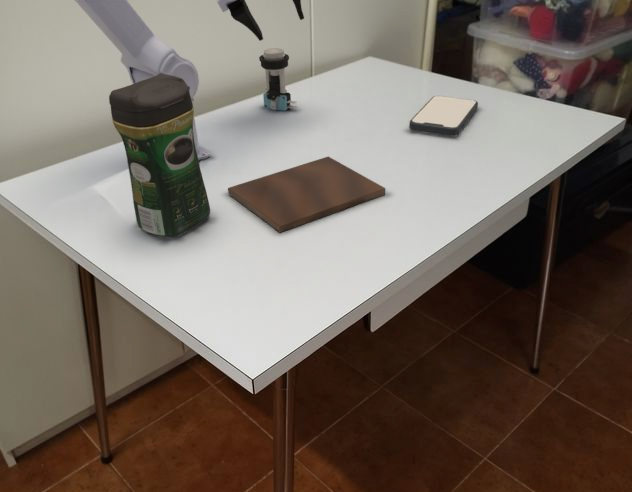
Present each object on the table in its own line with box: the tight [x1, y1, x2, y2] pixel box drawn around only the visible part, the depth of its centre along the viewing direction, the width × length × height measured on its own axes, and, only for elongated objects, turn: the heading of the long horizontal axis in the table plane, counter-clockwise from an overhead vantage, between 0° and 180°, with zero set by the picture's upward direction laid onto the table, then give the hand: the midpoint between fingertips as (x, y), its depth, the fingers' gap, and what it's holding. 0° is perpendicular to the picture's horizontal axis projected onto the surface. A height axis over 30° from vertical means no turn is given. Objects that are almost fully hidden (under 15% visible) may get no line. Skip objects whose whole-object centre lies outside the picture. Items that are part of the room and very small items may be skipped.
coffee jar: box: [108, 73, 211, 239], centre depth 79 cm, size 10×8×19 cm
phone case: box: [408, 95, 479, 137], centre depth 111 cm, size 9×2×16 cm
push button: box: [258, 47, 298, 112], centre depth 114 cm, size 7×5×10 cm
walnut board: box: [227, 156, 386, 233], centre depth 90 cm, size 18×14×1 cm
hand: (280, 26), depth 106 cm, fingers open, 7 cm apart
